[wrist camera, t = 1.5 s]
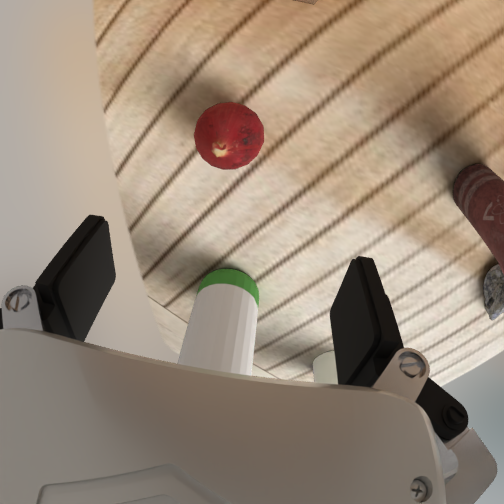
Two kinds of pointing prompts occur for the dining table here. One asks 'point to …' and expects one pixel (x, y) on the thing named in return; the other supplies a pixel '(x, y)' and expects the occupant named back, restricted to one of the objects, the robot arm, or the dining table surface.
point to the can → (483, 205)
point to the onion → (229, 135)
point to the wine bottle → (222, 324)
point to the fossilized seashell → (494, 292)
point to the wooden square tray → (308, 1)
